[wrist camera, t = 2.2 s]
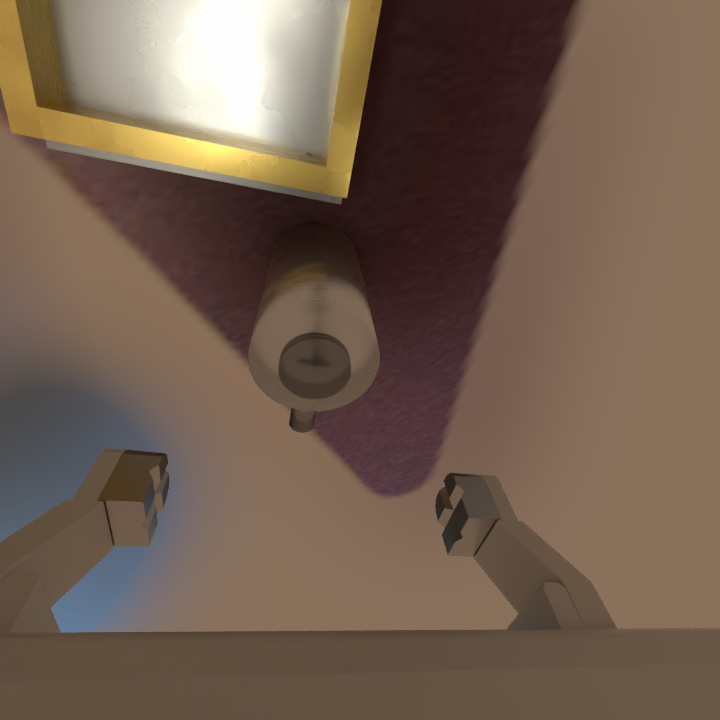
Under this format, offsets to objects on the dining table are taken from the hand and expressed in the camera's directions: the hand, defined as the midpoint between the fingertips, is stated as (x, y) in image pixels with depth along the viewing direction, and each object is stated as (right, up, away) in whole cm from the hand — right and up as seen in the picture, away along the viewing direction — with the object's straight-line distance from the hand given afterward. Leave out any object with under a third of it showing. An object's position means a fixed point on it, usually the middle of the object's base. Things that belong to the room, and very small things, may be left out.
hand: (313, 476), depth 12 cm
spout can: (-2, +8, +13) cm, 15 cm away
